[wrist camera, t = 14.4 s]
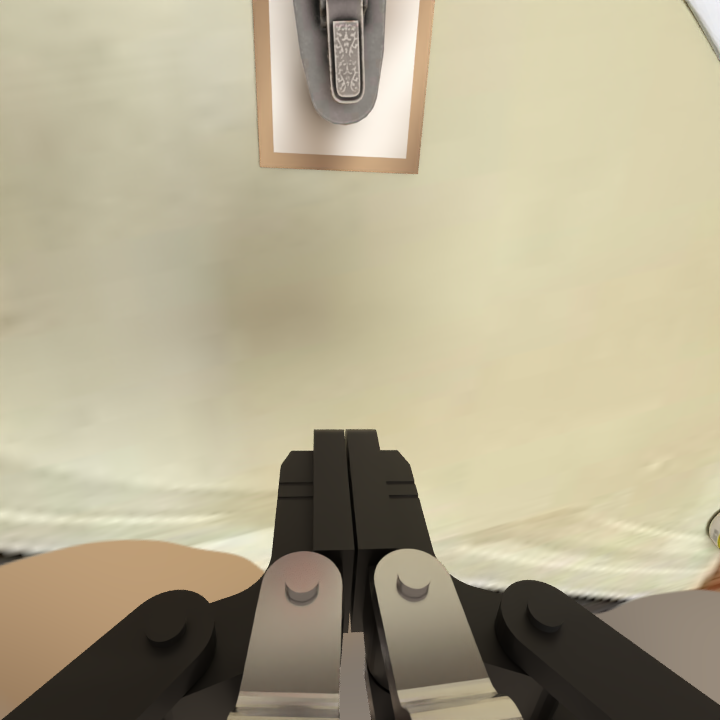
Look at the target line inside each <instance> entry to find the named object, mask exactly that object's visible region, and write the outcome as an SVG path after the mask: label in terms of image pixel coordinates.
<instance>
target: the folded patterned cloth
mask: <svg viewBox="0 0 720 720" xmlns="http://www.w3.org/2000/svg"><path fill="white" fill-rule="evenodd" d="M685 1H686V3H687V4H688V6H689V8H690V9H691V11H692V12H693V14H694V16H695V18H696V19H697V21H698V23H699V25H700V26H701V28H702V30H703V32H704V34H705V35H706V37H707V39H708V41H709V42H710V44H711V46H712V48H713V50H714V52H715V53H716V55H717V57H718V59H719V61H720V0H685Z"/></svg>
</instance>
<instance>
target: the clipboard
mask: <svg viewBox="0 0 720 720" xmlns="http://www.w3.org/2000/svg"><path fill="white" fill-rule="evenodd" d="M434 3H435V0H386V18H385V39H384V55H383V61H382V68H381V75H380V81H379V88H378V95H377V99H376V102H375V105H374V108H373V109H372V111H371V112H370V113H369V114H368V116H367V117H366V118H364V119H362V120H361V121H359V122H357V123H354V124H350V125H339V124H333V123H329V122H327V121H325V120H323V119H322V118H321V117H320V116H319V115H318V114H317V113H316V111H315V109H314V107H313V104H312V101H311V97H310V92H309V88H308V84H307V80H306V76H305V72H304V68H303V64H302V60H301V56H300V49H299V42H298V35H297V28H296V20H295V13H294V6H293V0H253V22H254V44H255V66H256V88H257V110H258V132H259V154H260V167H272V168H295V169H317V170H339V171H362V172H384V173H407V174H418V166H419V156H420V146H421V136H422V126H423V115H424V105H425V95H426V85H427V75H428V64H429V54H430V44H431V34H432V24H433V13H434Z"/></svg>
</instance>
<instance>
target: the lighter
mask: <svg viewBox="0 0 720 720" xmlns="http://www.w3.org/2000/svg"><path fill="white" fill-rule="evenodd" d="M293 6H294V13H295V20H296V28H297V35H298V42H299V49H300V56H301V60H302V64H303V68H304V72H305V76H306V80H307V84H308V88H309V92H310V97H311V101H312V104H313V107H314V109H315V111H316V113H317V114H318V115H319V116H320V117H321V118H322V119H323V120H325V121H327V122H329V123H333V124H339V125H350V124H354V123H357V122H359V121H361V120H362V119H364V118H366V117H367V116H368V114H369V113H370V112H371V111H372V109H373V108H374V105H375V102H376V99H377V95H378V88H379V81H380V75H381V68H382V61H383V55H384V39H385V18H386V0H293Z"/></svg>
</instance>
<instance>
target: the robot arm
mask: <svg viewBox="0 0 720 720" xmlns="http://www.w3.org/2000/svg"><path fill="white" fill-rule="evenodd" d="M349 613H350V620H351V632H364V642H365V653H366V655H365V664H364V679H365V685H366V691H367V698H368V703H369V710H370V717H371V720H720V705H719V704H717V703H716V702H714V701H713V700H712V699H710V698H709V697H708V696H706V695H705V694H703V693H702V692H701V691H699V690H698V689H696V688H695V687H694V686H692V685H691V684H690V683H688V682H687V681H685V680H684V679H683V678H681V677H680V676H678V675H677V674H675V673H674V672H673V671H671V670H670V669H669V668H667V667H666V666H665V665H663V664H662V663H660V662H659V661H658V660H656V659H655V658H653V657H652V656H651V655H649V654H648V653H646V652H645V651H643V650H642V649H641V648H640V647H638V646H637V645H635V644H633V643H632V642H631V641H630V640H628V639H627V638H626V637H624V636H623V635H621V634H620V633H619V632H617V631H616V630H614V629H613V628H612V627H610V626H609V625H608V624H606V623H605V622H603V621H602V620H600V619H599V618H598V617H596V616H595V615H594V614H592V613H591V612H589V611H588V610H587V609H585V608H584V607H583V606H581V605H580V604H578V603H577V602H576V601H574V600H573V599H571V598H570V597H569V596H567V595H566V594H564V593H563V592H562V591H560V590H558V589H557V588H555V587H553V586H551V585H549V584H546V583H543V582H539V581H535V580H522V581H518V582H515V583H513V584H511V585H510V586H509V587H508V588H507V589H506V590H505V592H504V594H499V593H495V592H492V591H488V590H484V589H480V588H477V587H473V586H470V585H467V584H465V583H463V582H461V581H459V580H458V579H456V578H454V577H453V576H452V575H450V574H449V572H448V571H447V569H446V568H445V566H444V565H443V564H442V563H441V562H440V561H439V560H438V559H437V558H436V556H435V554H434V551H433V548H432V544H431V541H430V537H429V533H428V530H427V526H426V522H425V518H424V515H423V511H422V507H421V504H420V500H419V498H418V493H417V489H416V485H415V484H414V478H413V474H412V471H411V467H410V464H409V463H408V462H407V461H406V460H405V458H404V457H403V456H402V455H401V454H400V453H399V452H398V450H380V447H379V442H378V437H377V432H376V430H373V429H346V431H345V437H344V430H314V450H313V451H291V452H290V453H289V455H288V456H287V458H286V459H285V460H284V462H283V463H282V465H281V469H280V479H279V489H278V500H277V508H276V518H275V528H274V538H273V548H272V556H271V561H270V563H269V566H268V568H267V570H266V571H265V573H264V574H263V576H262V577H261V578H260V579H259V580H258V581H257V582H256V583H255V584H253V585H252V586H251V587H249V588H248V589H246V590H244V591H243V592H241V593H238V594H236V595H233V596H230V597H227V598H224V599H221V600H218V601H215V602H212V603H209V602H208V601H207V600H206V599H205V598H204V597H202V596H201V595H199V594H198V593H195V592H192V591H188V590H173V591H168V592H164V593H161V594H159V595H156V596H154V597H152V598H150V599H148V600H147V601H145V602H144V603H143V604H141V605H140V606H139V607H137V608H136V609H135V610H134V611H133V612H131V613H130V614H129V615H128V616H127V617H125V618H124V619H123V620H122V621H120V622H119V623H118V624H117V625H116V626H114V627H113V628H112V629H111V630H110V631H108V632H107V633H106V634H105V635H104V636H102V637H101V638H100V639H99V640H97V641H96V642H95V643H94V644H93V645H91V646H90V647H89V648H88V649H87V650H85V651H84V652H83V653H82V654H81V655H79V656H78V657H77V658H76V659H75V660H73V661H72V662H71V663H70V664H69V665H67V666H66V667H65V668H64V669H63V670H61V671H60V672H59V673H58V674H56V675H55V676H54V677H53V678H52V679H50V680H49V681H48V682H47V683H46V684H44V685H43V686H42V687H41V688H39V689H38V690H37V691H36V692H35V693H33V694H32V695H31V696H30V697H29V698H27V699H26V700H25V701H24V702H23V703H21V704H20V705H19V706H18V707H16V708H15V709H14V710H13V711H12V712H10V713H9V714H8V715H7V716H6V717H4V718H3V719H2V720H340V717H339V716H340V714H339V688H340V686H339V685H340V666H341V654H342V639H343V633H348V625H349Z"/></svg>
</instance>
